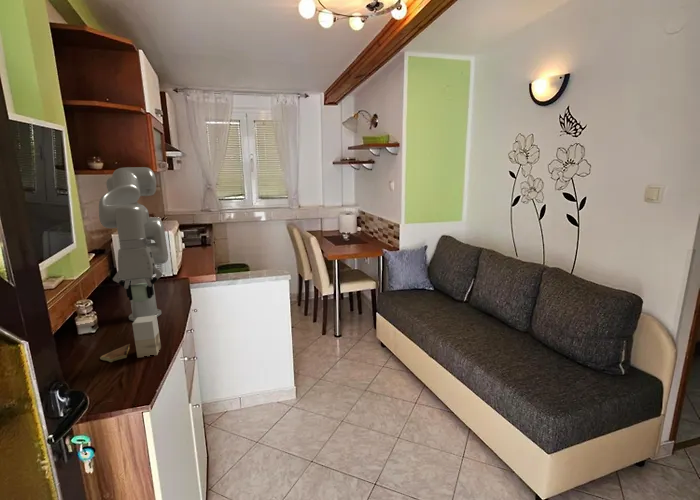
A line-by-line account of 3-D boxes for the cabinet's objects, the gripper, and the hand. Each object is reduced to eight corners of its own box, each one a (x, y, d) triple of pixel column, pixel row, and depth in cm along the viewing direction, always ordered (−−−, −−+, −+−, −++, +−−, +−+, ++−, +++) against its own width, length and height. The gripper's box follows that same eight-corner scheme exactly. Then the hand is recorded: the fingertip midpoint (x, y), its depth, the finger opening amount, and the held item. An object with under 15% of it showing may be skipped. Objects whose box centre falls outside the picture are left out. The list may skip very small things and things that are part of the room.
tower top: (139, 333, 131) (137, 317, 130) (158, 331, 132) (156, 315, 131) (134, 340, 125) (132, 323, 124) (154, 338, 127) (152, 321, 126)
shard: (130, 347, 136) (129, 342, 136) (144, 350, 133) (144, 345, 132) (99, 360, 126) (98, 355, 126) (114, 364, 123) (114, 359, 123)
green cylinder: (135, 298, 128) (133, 283, 127) (151, 296, 129) (149, 282, 128) (130, 302, 123) (128, 287, 122) (147, 301, 124) (145, 286, 124)
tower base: (142, 350, 132) (139, 333, 131) (161, 347, 134) (158, 331, 132) (137, 357, 126) (134, 340, 125) (157, 355, 128) (154, 338, 127)
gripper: (164, 240, 128) (171, 292, 132) (108, 244, 125) (116, 297, 128) (159, 244, 121) (166, 298, 125) (99, 248, 117) (108, 304, 121)
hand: (141, 297), depth 126 cm, fingers closed on green cylinder, 4 cm apart
